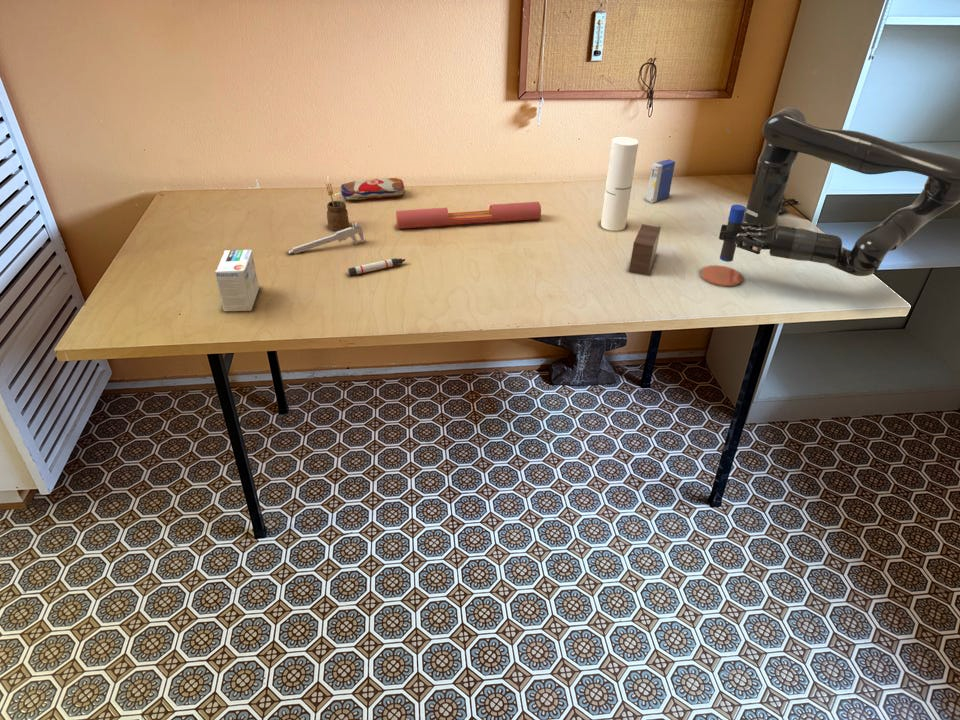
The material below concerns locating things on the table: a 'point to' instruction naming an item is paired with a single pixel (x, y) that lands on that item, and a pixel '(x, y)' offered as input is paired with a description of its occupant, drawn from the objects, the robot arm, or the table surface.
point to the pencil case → (372, 188)
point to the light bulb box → (237, 280)
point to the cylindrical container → (619, 182)
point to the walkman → (660, 180)
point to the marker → (374, 266)
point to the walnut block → (644, 249)
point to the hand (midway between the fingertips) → (720, 231)
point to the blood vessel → (468, 215)
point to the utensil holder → (336, 213)
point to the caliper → (332, 238)
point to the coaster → (721, 276)
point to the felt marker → (732, 226)
